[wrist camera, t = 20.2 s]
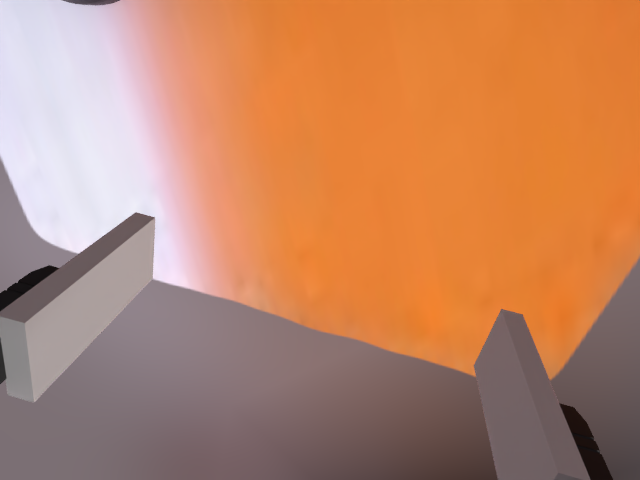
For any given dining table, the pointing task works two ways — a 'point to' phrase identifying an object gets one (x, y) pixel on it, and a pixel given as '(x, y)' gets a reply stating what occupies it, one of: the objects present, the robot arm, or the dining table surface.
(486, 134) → the dining table surface
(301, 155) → the dining table surface
